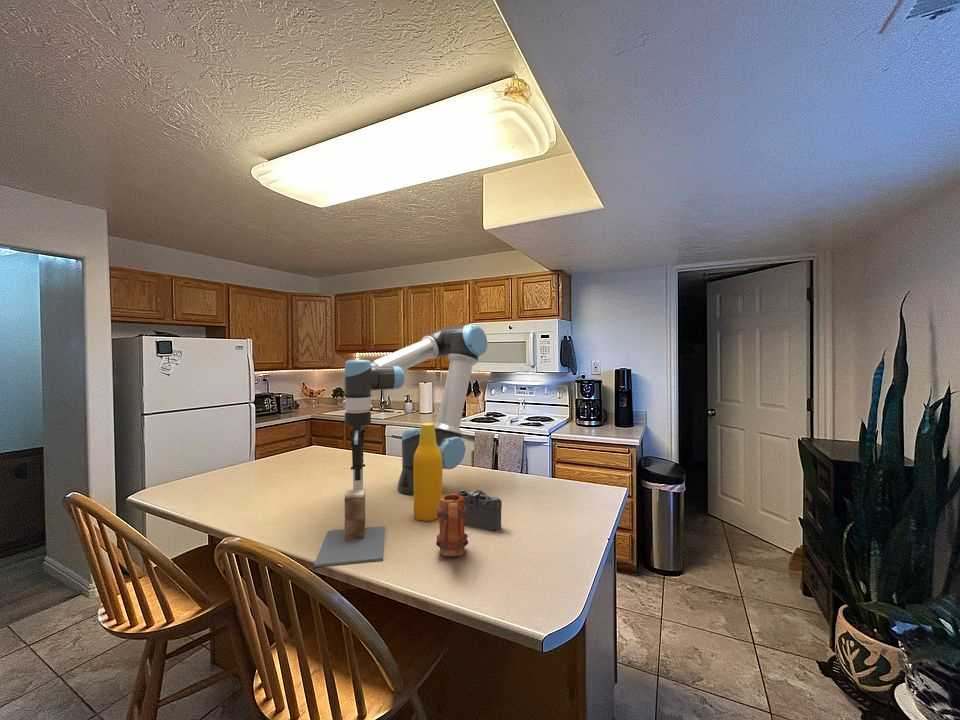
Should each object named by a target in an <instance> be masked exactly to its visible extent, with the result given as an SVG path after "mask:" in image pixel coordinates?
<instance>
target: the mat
mask: <svg viewBox="0 0 960 720" xmlns="http://www.w3.org/2000/svg"><path fill="white" fill-rule="evenodd" d="M385 535H386V525H380V526H370V527H368V526H367V527H366V526H365V536H364V539H352V540H345V528H343V529H332V530H327V532H326V535H325V536H324V539H323V542H322V544H321V546H320V549H319V550H318V553H317V556H316V559H315V561H314V563H313V568H321V567H329V566H331V567H332V566H343V565H349V564H350V565H351V564H361V563H362V564H363V563H370V562H372V563H373V562H382V561H383V560H384V551H385V539H386V536H385Z"/></svg>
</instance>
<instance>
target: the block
mask: <svg viewBox="0 0 960 720" xmlns="http://www.w3.org/2000/svg"><path fill="white" fill-rule="evenodd" d="M365 528H366V488H363V489H356V490H353V489H346V491H345V495H344V529H345V540H352V539H364V536H365Z"/></svg>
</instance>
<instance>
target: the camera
mask: <svg viewBox="0 0 960 720" xmlns="http://www.w3.org/2000/svg"><path fill="white" fill-rule="evenodd" d="M457 494H460V495H461V496H463V497H464V506H466V507H467V509H466V512H467V515H466V516H465V524H464V526H467V527H471V528H475V529H476V528H477V529H481V530H485V531H489V532H499V531H500V530H502V506H503V505H502V499H500V498H499V497H497V496H492V497H491V496H490V494H487V493H485V492H484V491H482V490H481V489H475V490H474V491H471V492H469V493H468V491H466V490H465V489H460V491H459V490H458V491H457Z"/></svg>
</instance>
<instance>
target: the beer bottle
mask: <svg viewBox="0 0 960 720" xmlns="http://www.w3.org/2000/svg"><path fill="white" fill-rule="evenodd" d="M434 425H435V423H431V422H428V423H426V422H425V423H421V425H420V428H421V430H420V440H419V445H418V447H417V449H416V452H415V454H414V460H413V476H414V495H413V509H412V510H413V512H412V513H413V516H414V519H416V520H417V521H421V522H422V521H425V522H426V521H428V522H430V521H434V520H439V517H438V516H437V513H438V511H437V508H438V507H439V502H440V498H441V497H442V495H443V469H442V455H441V452H440V450H439V447H438V445H437V442H436V435H435V426H434Z"/></svg>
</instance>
